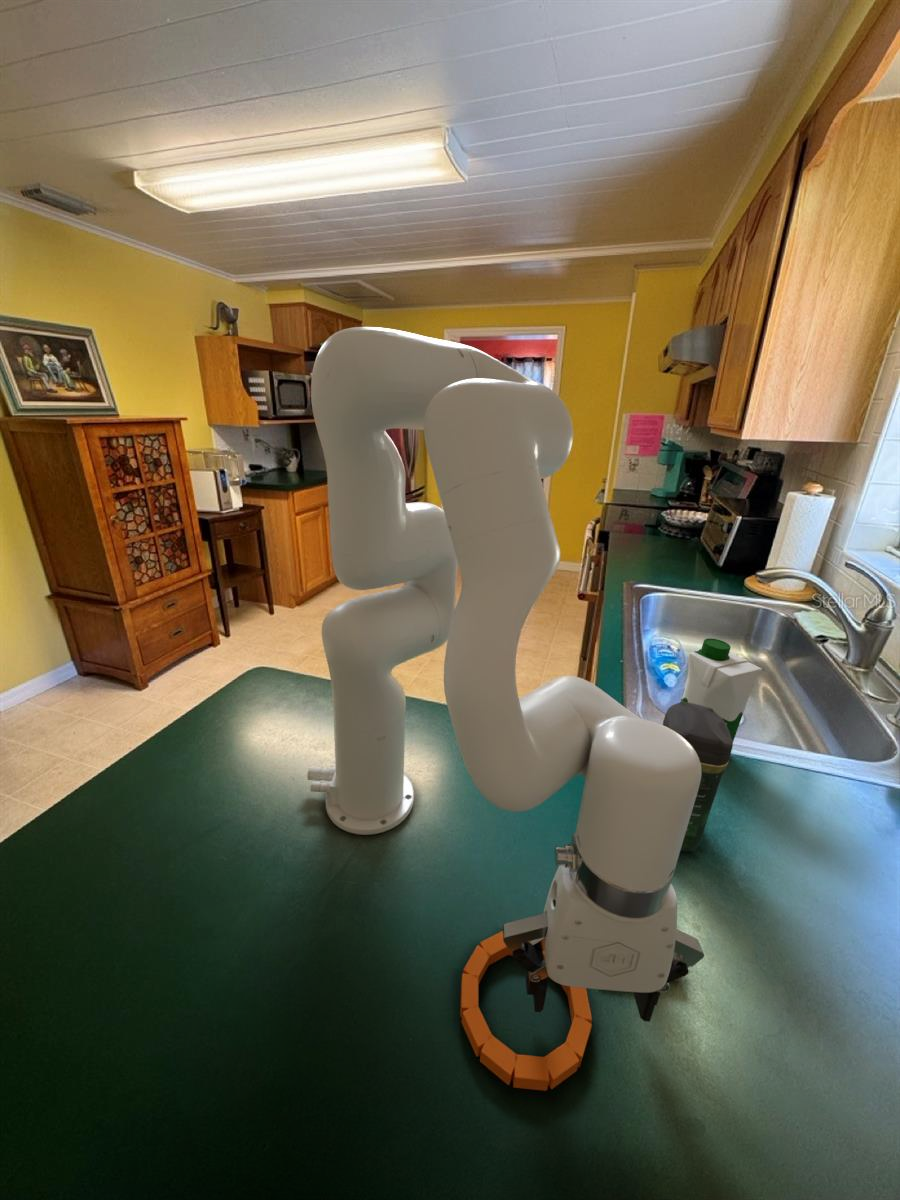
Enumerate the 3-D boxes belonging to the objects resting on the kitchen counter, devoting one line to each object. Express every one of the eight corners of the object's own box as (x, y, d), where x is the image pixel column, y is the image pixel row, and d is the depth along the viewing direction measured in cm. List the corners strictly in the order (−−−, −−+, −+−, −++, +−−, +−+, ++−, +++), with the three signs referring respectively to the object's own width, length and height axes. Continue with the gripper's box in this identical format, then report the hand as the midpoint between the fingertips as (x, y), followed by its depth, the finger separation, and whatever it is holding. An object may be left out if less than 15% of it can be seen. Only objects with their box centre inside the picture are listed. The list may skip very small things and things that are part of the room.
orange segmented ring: (458, 1082, 40) (459, 1072, 40) (462, 935, 52) (463, 925, 51) (601, 1096, 40) (605, 1086, 39) (573, 945, 51) (576, 936, 51)
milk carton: (693, 728, 89) (722, 634, 82) (737, 759, 82) (773, 658, 74) (659, 738, 86) (686, 640, 78) (701, 771, 78) (735, 667, 71)
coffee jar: (703, 862, 62) (744, 748, 55) (639, 843, 64) (671, 731, 57) (693, 809, 71) (728, 704, 64) (637, 793, 73) (665, 691, 66)
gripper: (516, 901, 35) (497, 1039, 41) (753, 919, 34) (698, 1057, 40) (509, 820, 42) (494, 949, 48) (706, 835, 41) (665, 963, 47)
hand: (587, 998), depth 44 cm, fingers open, 9 cm apart
